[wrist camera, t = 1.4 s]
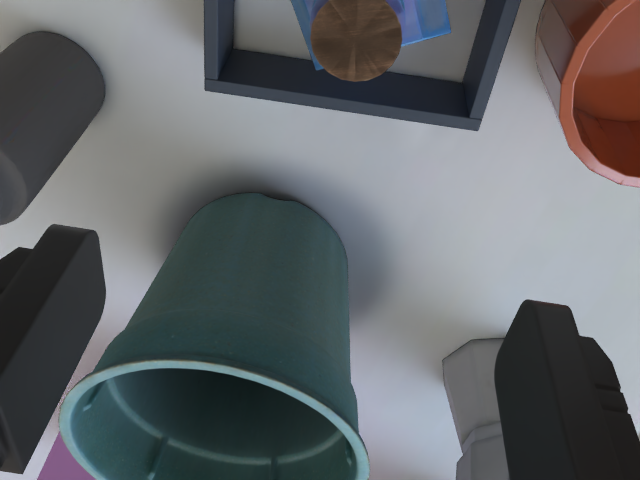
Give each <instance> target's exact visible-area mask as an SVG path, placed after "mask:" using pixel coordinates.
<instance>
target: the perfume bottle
mask: <svg viewBox="0 0 640 480" xmlns="http://www.w3.org/2000/svg"><path fill="white" fill-rule="evenodd" d="M291 2H292V5H293V7H294V10H295V13H296V16H297V19H298V21H299V24H300V27H301V30H302V33H303V35H304V38H305V41H306V44H307V47H308V49H309V52H310V55H311V58H312V61H313V63H314V66H315V69H316V71H317V70H320V69H325V70H326V71H327V72H328V73H330V74H332V75H334V76H336V77H338V78H340V79H342V80H348V81H353V82H357V81H366V80H370V79H372V78H375V77H377V76H379V75H381V74H383V73H384V72H385V71H386V70H387V69H388V68H390V67H391V66H392V64H393V63H394V61H395V59H396V58H397V56H398V55H399V52H400V48H401V47H402V46H406V45H409V44H413V43H416V42H420V41H423V40H427V39H430V38H434V37H438V36H441V35H445V34H448V33H451V29H450V24H449V19H448V13H447V8H446V3H445V0H291Z"/></svg>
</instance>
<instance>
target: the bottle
mask: <svg viewBox="0 0 640 480" xmlns="http://www.w3.org/2000/svg"><path fill="white" fill-rule="evenodd" d="M104 97H105V85H104V81H103V77H102V74H101V72H100V70H99V68H98V66H97V65H96V63H95V62H94V60H93V59H92V58H91V57H90V56H89V55H88V54H87V52H86V51H85V50H84V49H83V48H81V47H80V46H78V45H77V44H76V43H74V42H73V41H71V40H69V39H67V38H65V37H62V36H60V35H57V34H53V33H47V32H35V33H30V34H27V35H25V36H23V37H21V38H19V39H18V40H17V41H15V42H14V43H12V44H11V45H10V46H9V47H8V48H6V49H5V50H4V51H3V52H2V53H0V225H4V224H7V223H9V222H12V221H14V220H15V219H17V218H18V217H19V216H20V215H21V214H22V213H23V212H24V211H25V210H26V208H27V207H28V206H29V204H30V203H31V202H32V201H33V199H34V198H35V197H36V195H37V194H38V193H39V191H40V190H41V189H42V187H43V186H44V185H45V183H46V182H47V181H48V179H49V178H50V177H51V175H52V174H53V173H54V171H55V170H56V169H57V167H58V166H59V165H60V163H61V162H62V161H63V159H64V158H65V157H66V155H67V154H68V153H69V151H70V150H71V149H72V147H73V146H74V145H75V143H76V142H77V141H78V139H79V138H80V137H81V135H82V134H83V132H84V131H85V130H86V128H87V127H88V126H89V124H90V123H91V121H92V120H93V119H94V117H95V116H96V114H97V113H98V112H99V110H100V108H101V106H102V104H103V101H104Z"/></svg>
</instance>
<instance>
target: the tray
mask: <svg viewBox="0 0 640 480" xmlns="http://www.w3.org/2000/svg"><path fill="white" fill-rule="evenodd" d="M520 2H521V0H486V3H485V6H484V10H483V13H482V17H481V20H480V24H479V27H478V30H477V34H476V37H475V41H474V44H473V48H472V51H471V55H470V58H469V61H468V65H467V68H466V72H465V75H464V79H463V83H457V82H450V81H443V80H437V79H430V78H423V77H416V76H410V75H403V74H396V73H390V72H384V73H383V74H381V75H379V76H377V77H375V78H372V79H370V80H366V81H357V82H353V81H348V80H342V79H340V78H338V77H336V76H334V75H332V74H330V73H328V72H327V71H326V70H325V69H320V70H317V71H316V69H315V66H314V63H313V61H309V60H302V59H296V58H289V57H282V56H276V55H269V54H262V53H255V52H249V51H242V50H235V49H233V22H234V0H204V70H205V91H211V92H218V93H224V94H231V95H238V96H245V97H251V98H258V99H265V100H272V101H278V102H285V103H292V104H299V105H305V106H312V107H319V108H326V109H332V110H339V111H346V112H352V113H359V114H366V115H373V116H379V117H386V118H393V119H400V120H406V121H413V122H420V123H427V124H433V125H440V126H447V127H454V128H460V129H467V130H474V131H478V130H479V127H480V124H481V121H482V118H483V115H484V112H485V109H486V106H487V103H488V100H489V97H490V94H491V91H492V88H493V85H494V82H495V78H496V75H497V72H498V69H499V66H500V63H501V60H502V57H503V54H504V51H505V48H506V45H507V42H508V39H509V36H510V33H511V30H512V27H513V24H514V20H515V17H516V14H517V11H518V8H519V5H520Z"/></svg>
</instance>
